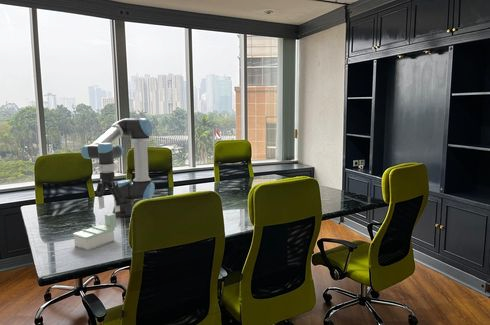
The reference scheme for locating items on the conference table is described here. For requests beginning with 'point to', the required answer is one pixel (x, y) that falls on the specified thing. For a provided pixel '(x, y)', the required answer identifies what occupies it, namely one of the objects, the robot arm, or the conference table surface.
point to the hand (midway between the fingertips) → (109, 210)
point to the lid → (98, 228)
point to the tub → (94, 241)
